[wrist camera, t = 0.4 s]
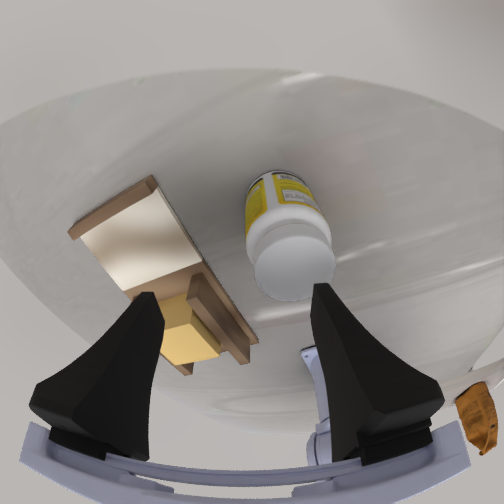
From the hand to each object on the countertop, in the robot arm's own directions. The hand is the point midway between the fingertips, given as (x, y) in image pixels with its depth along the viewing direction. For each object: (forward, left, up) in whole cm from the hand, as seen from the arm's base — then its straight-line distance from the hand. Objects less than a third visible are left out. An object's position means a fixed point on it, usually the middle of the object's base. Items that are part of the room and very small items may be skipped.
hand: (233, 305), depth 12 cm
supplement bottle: (0, -3, -10) cm, 10 cm away
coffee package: (-75, -38, -10) cm, 84 cm away
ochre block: (-8, +9, -9) cm, 15 cm away
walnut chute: (-5, +9, -10) cm, 14 cm away
